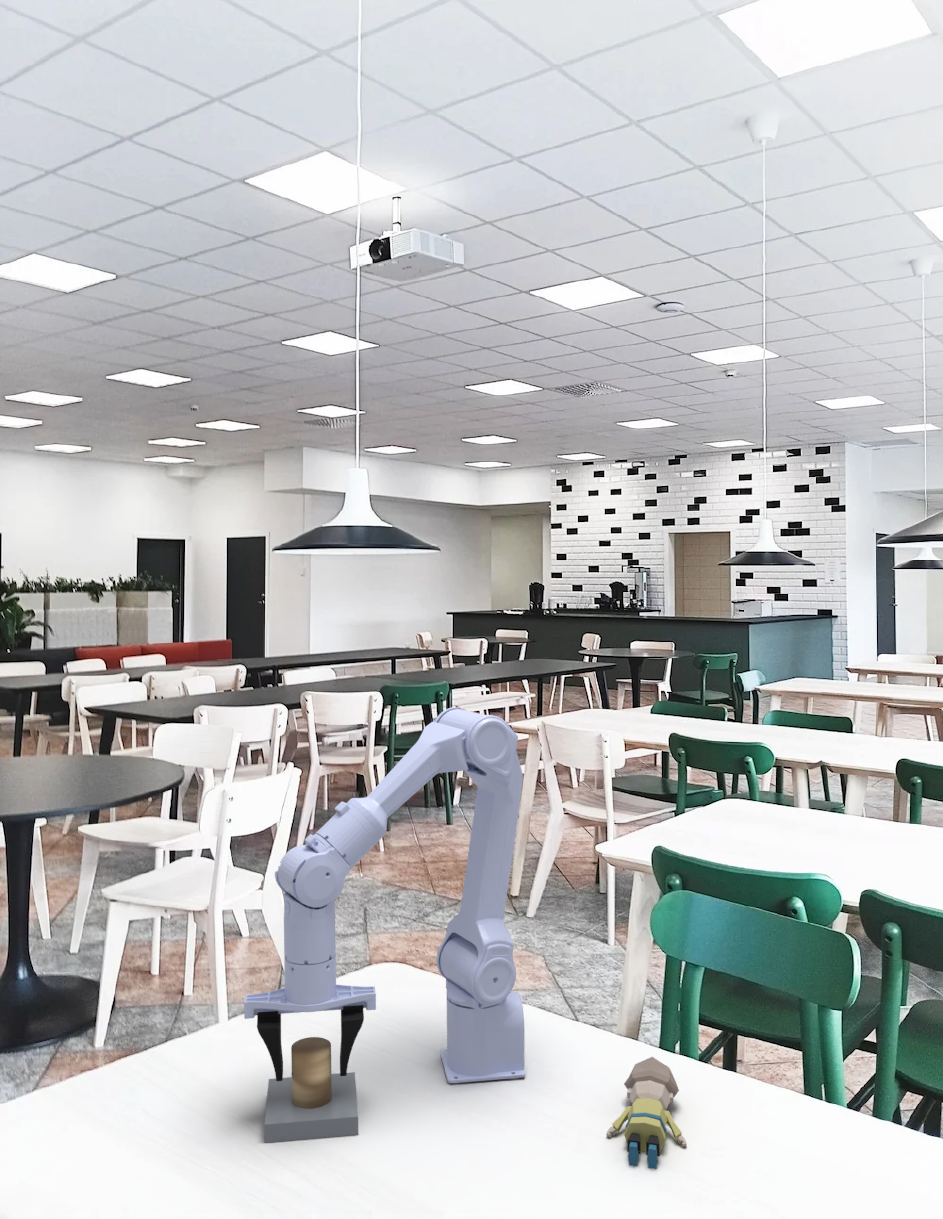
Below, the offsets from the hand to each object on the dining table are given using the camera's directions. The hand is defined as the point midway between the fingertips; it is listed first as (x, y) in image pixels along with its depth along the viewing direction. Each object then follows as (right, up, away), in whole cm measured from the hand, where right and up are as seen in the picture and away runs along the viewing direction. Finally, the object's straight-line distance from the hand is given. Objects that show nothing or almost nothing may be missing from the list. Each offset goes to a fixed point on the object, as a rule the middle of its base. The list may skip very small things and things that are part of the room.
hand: (311, 1074), depth 115 cm
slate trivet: (0, -5, 0) cm, 5 cm away
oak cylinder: (0, -3, 0) cm, 3 cm away
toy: (+37, -5, -3) cm, 38 cm away
